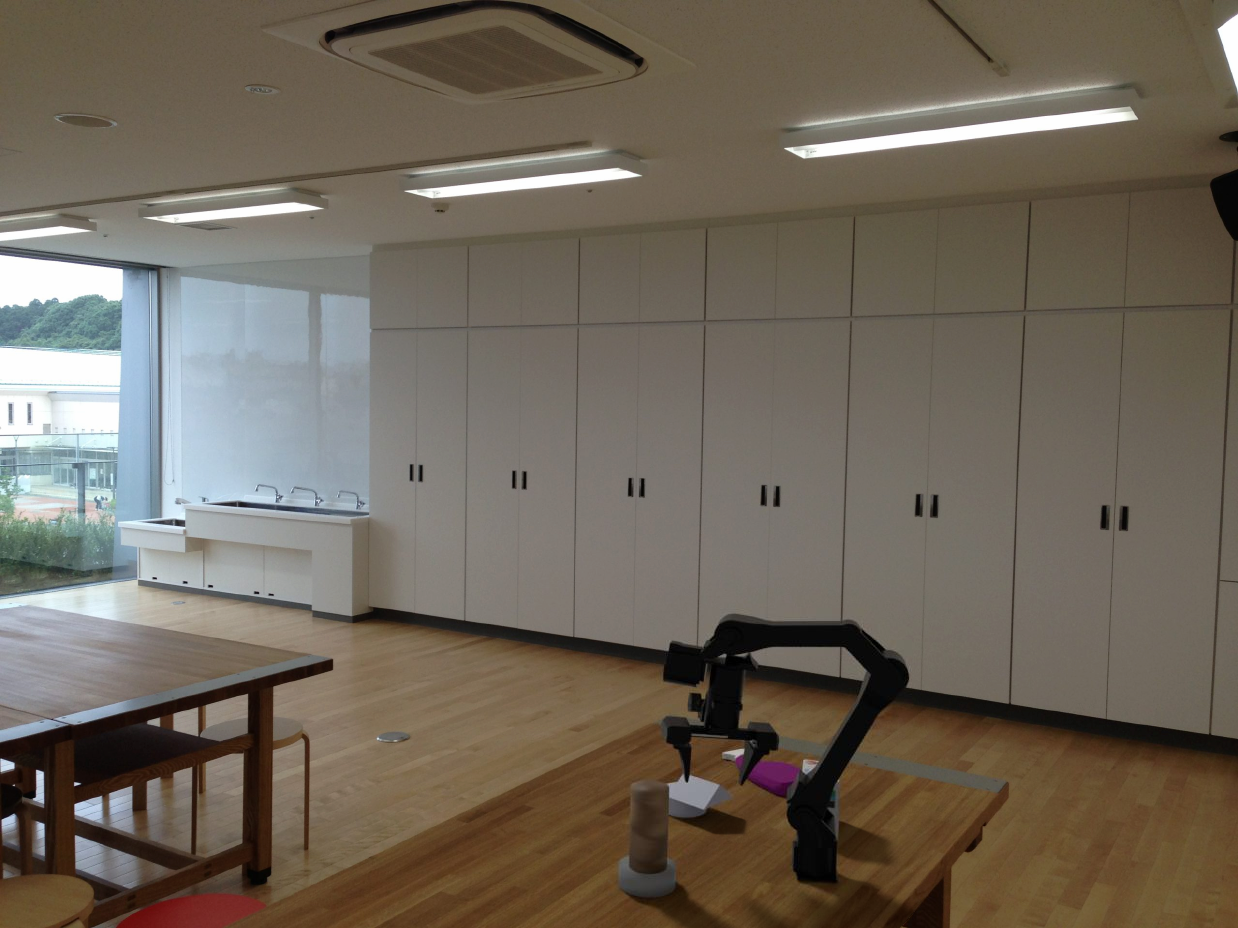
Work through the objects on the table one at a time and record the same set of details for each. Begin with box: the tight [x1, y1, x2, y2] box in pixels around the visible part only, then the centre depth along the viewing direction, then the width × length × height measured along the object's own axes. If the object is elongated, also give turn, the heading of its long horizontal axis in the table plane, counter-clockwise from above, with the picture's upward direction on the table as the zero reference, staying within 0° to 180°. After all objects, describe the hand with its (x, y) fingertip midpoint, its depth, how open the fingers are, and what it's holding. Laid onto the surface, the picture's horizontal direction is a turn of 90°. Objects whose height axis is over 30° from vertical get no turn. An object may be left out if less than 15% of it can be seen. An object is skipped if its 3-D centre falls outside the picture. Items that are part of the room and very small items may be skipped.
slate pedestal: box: [617, 855, 677, 899], centre depth 161 cm, size 9×9×3 cm
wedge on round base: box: [666, 773, 735, 819], centre depth 191 cm, size 9×7×13 cm
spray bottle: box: [721, 748, 802, 797], centre depth 213 cm, size 3×11×24 cm
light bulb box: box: [801, 759, 841, 842], centre depth 185 cm, size 11×7×11 cm, turn 168°
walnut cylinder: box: [628, 779, 670, 874], centre depth 161 cm, size 6×6×12 cm
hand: (713, 782), depth 170 cm, fingers open, 9 cm apart
